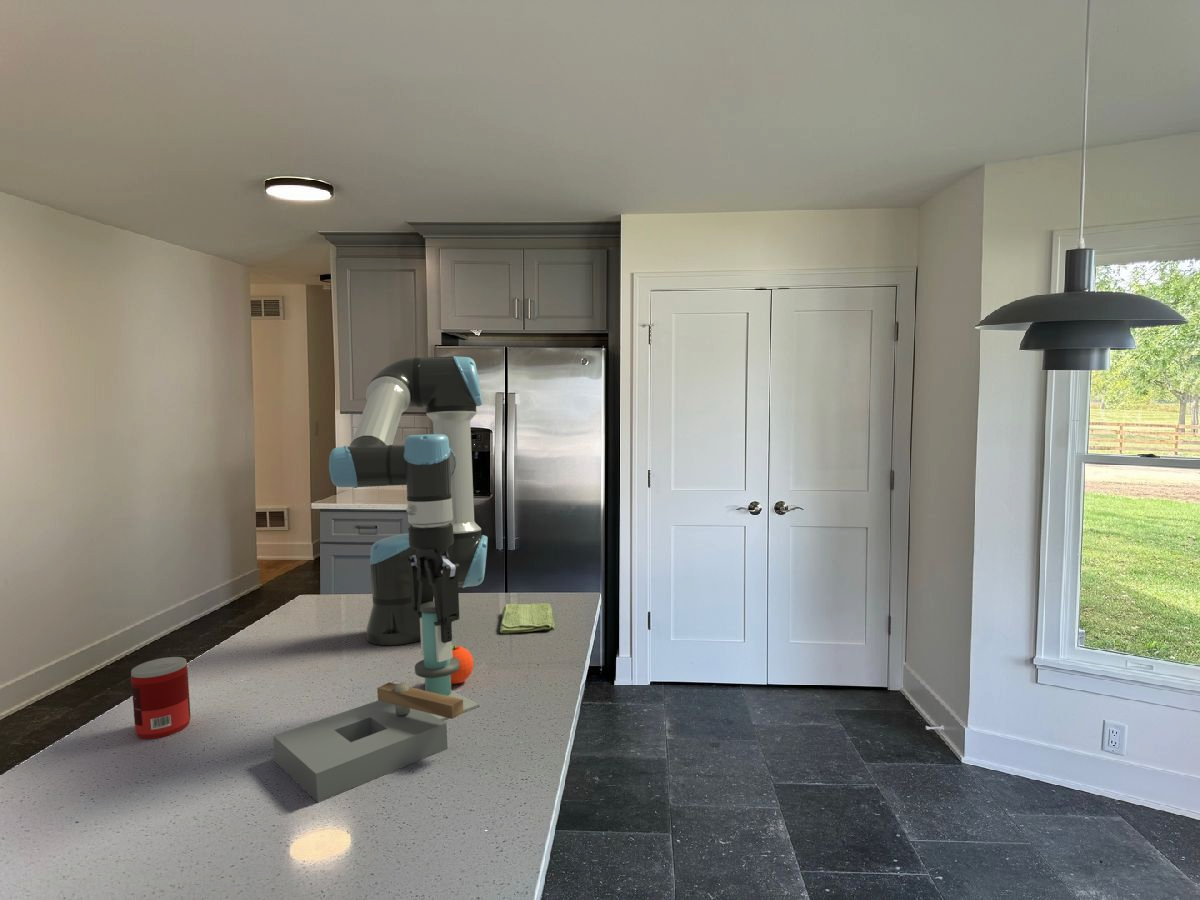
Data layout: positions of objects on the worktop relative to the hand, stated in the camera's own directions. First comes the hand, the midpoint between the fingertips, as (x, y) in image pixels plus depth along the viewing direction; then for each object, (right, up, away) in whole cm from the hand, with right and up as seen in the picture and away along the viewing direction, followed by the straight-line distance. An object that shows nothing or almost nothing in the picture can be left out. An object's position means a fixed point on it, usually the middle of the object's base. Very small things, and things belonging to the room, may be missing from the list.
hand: (436, 656), depth 121 cm
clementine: (0, -9, +12) cm, 15 cm away
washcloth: (+11, -7, +48) cm, 50 cm away
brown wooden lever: (0, -6, -13) cm, 14 cm away
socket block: (-8, -10, -15) cm, 20 cm away
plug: (0, -7, 0) cm, 7 cm away
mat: (0, -9, +1) cm, 9 cm away
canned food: (-45, -11, -4) cm, 47 cm away
